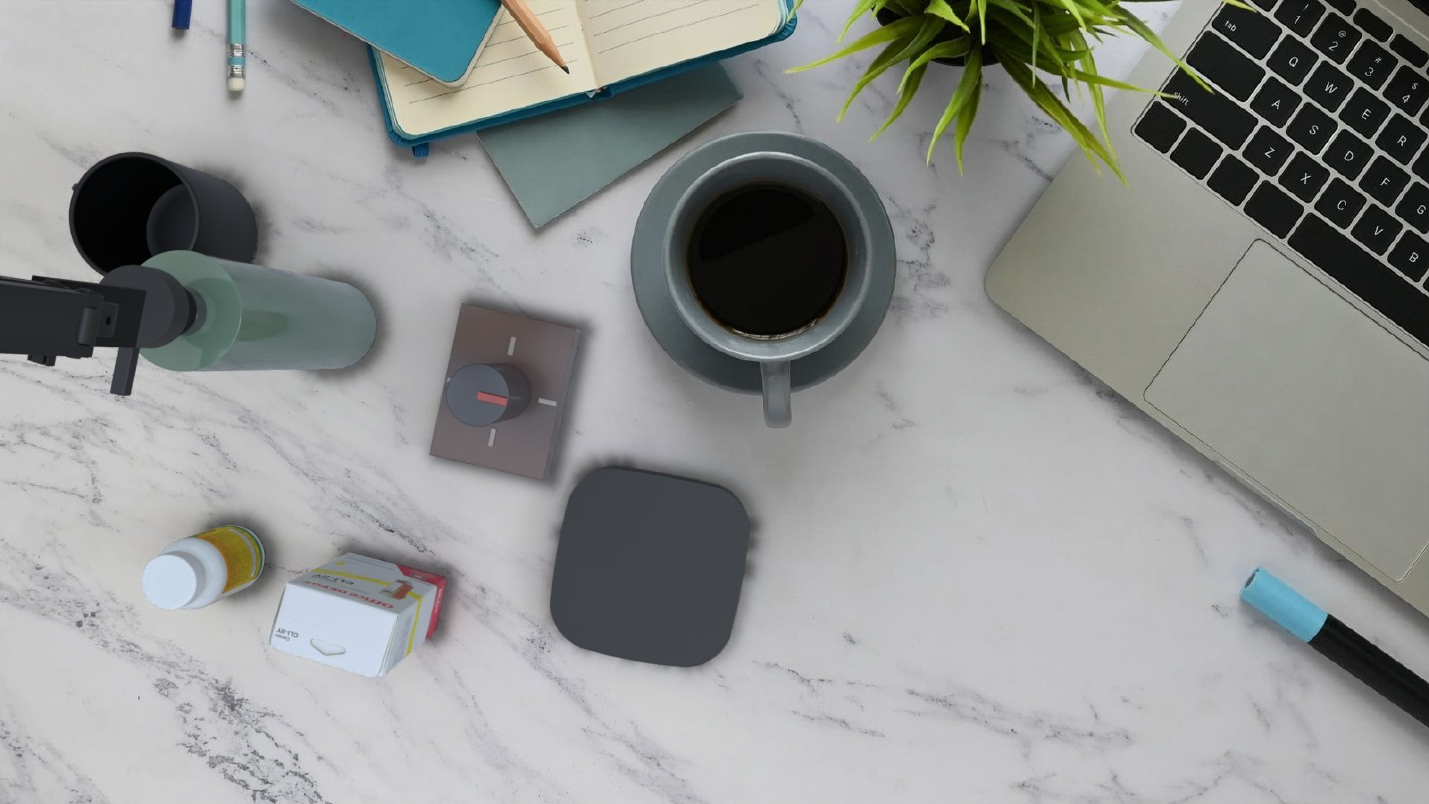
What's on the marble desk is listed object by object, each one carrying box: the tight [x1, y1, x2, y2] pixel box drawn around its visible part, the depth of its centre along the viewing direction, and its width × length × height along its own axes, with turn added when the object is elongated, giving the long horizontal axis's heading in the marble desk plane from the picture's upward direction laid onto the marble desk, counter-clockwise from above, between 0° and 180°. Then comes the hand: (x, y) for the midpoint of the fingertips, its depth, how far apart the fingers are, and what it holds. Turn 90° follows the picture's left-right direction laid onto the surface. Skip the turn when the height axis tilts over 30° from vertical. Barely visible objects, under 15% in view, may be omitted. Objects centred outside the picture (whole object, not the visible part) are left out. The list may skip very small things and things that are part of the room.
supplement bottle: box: [140, 524, 266, 611], centre depth 75 cm, size 5×5×10 cm
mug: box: [68, 151, 259, 278], centre depth 74 cm, size 9×12×9 cm
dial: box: [446, 363, 530, 427], centre depth 72 cm, size 4×4×8 cm
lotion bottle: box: [139, 250, 377, 373], centre depth 67 cm, size 7×7×23 cm
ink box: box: [267, 551, 448, 679], centre depth 74 cm, size 9×5×12 cm, turn 74°
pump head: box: [98, 265, 189, 397], centre depth 53 cm, size 7×4×2 cm, turn 167°
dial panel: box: [429, 302, 582, 481], centre depth 77 cm, size 12×9×3 cm
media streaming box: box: [549, 465, 751, 668], centre depth 78 cm, size 15×15×3 cm
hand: (49, 298), depth 46 cm, fingers open, 7 cm apart
